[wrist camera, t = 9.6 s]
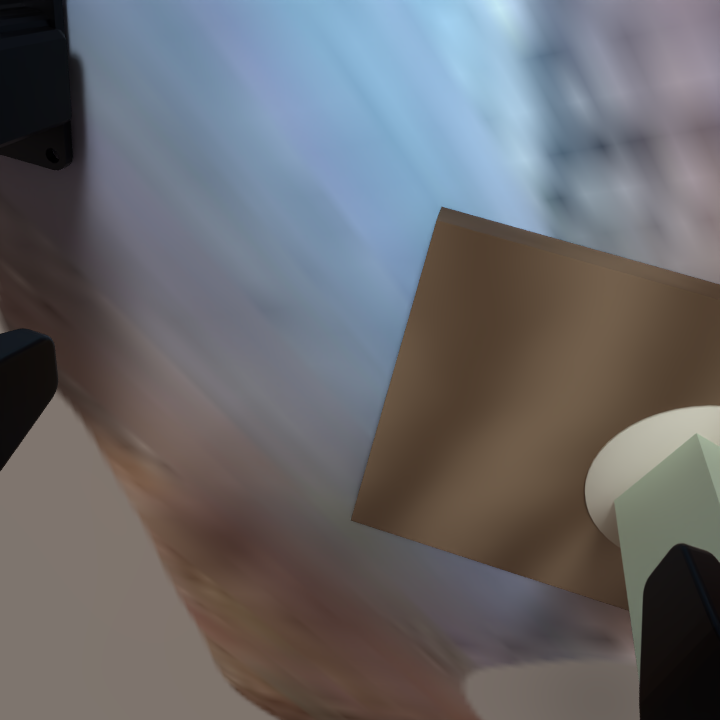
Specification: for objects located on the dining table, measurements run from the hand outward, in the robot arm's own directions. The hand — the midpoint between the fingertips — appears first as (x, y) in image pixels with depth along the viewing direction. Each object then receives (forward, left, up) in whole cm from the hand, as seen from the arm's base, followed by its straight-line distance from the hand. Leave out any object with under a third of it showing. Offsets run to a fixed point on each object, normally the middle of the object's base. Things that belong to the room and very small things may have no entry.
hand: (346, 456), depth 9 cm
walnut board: (+8, -8, -13) cm, 17 cm away
